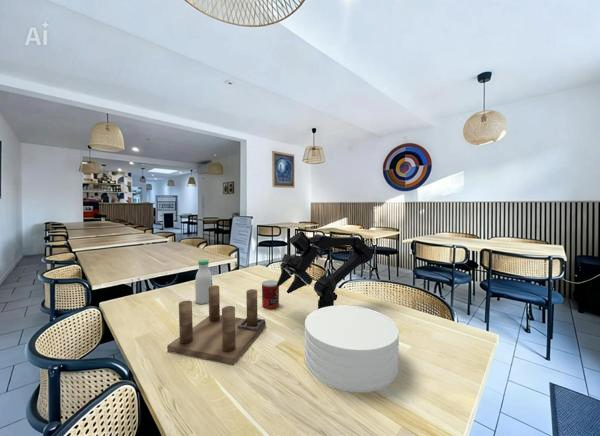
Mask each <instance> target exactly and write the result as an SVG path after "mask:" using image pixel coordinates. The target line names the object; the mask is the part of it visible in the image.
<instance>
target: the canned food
mask: <svg viewBox="0 0 600 436" xmlns="http://www.w3.org/2000/svg"><path fill="white" fill-rule="evenodd" d="M277 283H278V281H277V280H272V279H269V280H265V281H262V283H261V303H262V304H261V306H262V307H263V308H264V309H266V310H274V309H277V308H279V305H280V286H279V287H278V286H277Z"/></svg>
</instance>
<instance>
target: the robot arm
mask: <svg viewBox="0 0 600 436" xmlns="http://www.w3.org/2000/svg"><path fill="white" fill-rule="evenodd" d="M289 243H290V244H291V245H292V246H293V247H294V248H295V250H297V251H298V252H300V255H297V254H293V255H291V254H287V253H284V254H283V256H282V259H281V261H282V262H281V263H280V264H279V266H280V271H281V273H280V276H279V278H278V283H277V286H278V287H279V288H280V286H282V285H283V284H285V282H287V281H289V279H290V278H292V276H293V275H294V276H293V281H292V283H291V284H290V285H289V287H288V288H287V290H286V293H287V294H290V293H293V292H294V291H296V290H298V289H301V288H303V287H307V286H310V285H312V283H313V277H312V276H311V275H310V274H309V273H308V272H307V270H308V269H311V268H312V267H313V265H312V263H313V262H314V261H315V260H316V258H321V259H322V258H323V250H327V249H331V248H332V247H340V246H342V247H343V246H345V247H348V246H351V250H352V251H353V252H352V255H351V256H350V258H349V259H348V260H346V261H345V262H344V263H343V264H342V265H341V266H340V267H338V268H337V269H335V271H333V272H332V273H331V274H330V275H327V276H326V275H324V274H323V275H321V276H320V277H319V278H318V279H316V280H315V283H314V284H313V285H314V286H313V291H314V292H315V294H316V295H317V296H318V297H319V299H318V300H317V309H320V308H323V307H328V306H335V301H337V299H338V294H337V293H336V292H335V291H336V288H337V285H339V284H340V282H342V281H343V280H344V279H345V278H346V277H347V276H348V275H350V274H351V273H352V272H353V271H354V270H356V268H357V267H359V266H360V265H363V264H366V263H368V262H370V261H371V260H373V258H374V252H373V250H372V248H370V247H369V246H368V245H367V244H366V243H364V241H363V240H362V239H361V238H360V237H358V236H354V235H352V236H330V235H329V236H328V235H324V234H319V233H316V234H314V235H313V236H312V237H308V236H307V235H306V234H305V232H304V231H302V230H300V231H299V232H298V233H296V234H294V235H292V237H291V238H290V240H289ZM319 249H320V250H319ZM301 252H302V253H301Z"/></svg>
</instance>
